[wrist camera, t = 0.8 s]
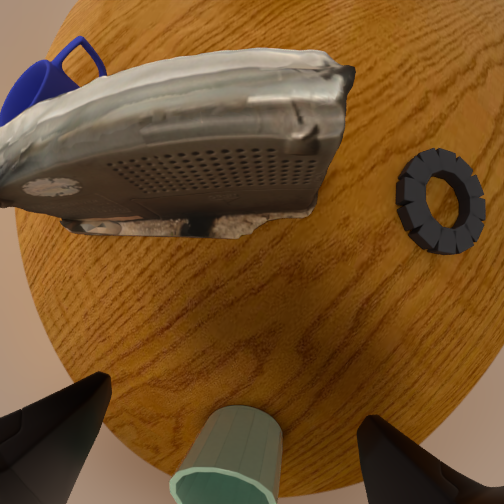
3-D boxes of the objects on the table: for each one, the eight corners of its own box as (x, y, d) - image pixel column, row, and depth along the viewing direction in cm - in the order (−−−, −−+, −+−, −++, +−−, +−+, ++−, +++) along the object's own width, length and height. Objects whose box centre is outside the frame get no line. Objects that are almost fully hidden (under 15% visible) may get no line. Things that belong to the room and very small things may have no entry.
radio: (333, 153, 21) (377, 20, 7) (327, 258, 21) (400, 250, 7) (97, 153, 25) (-9, 97, 10) (83, 234, 25) (-42, 217, 10)
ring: (472, 169, 19) (483, 163, 17) (471, 260, 19) (483, 260, 17) (396, 146, 21) (404, 137, 19) (392, 245, 21) (401, 244, 19)
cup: (290, 412, 21) (286, 480, 12) (274, 468, 21) (265, 532, 12) (207, 397, 22) (168, 454, 13) (201, 453, 22) (170, 511, 13)
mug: (140, 90, 24) (89, 38, 14) (68, 174, 25) (3, 148, 15) (109, 66, 25) (65, 24, 15) (48, 139, 26) (-6, 113, 16)
